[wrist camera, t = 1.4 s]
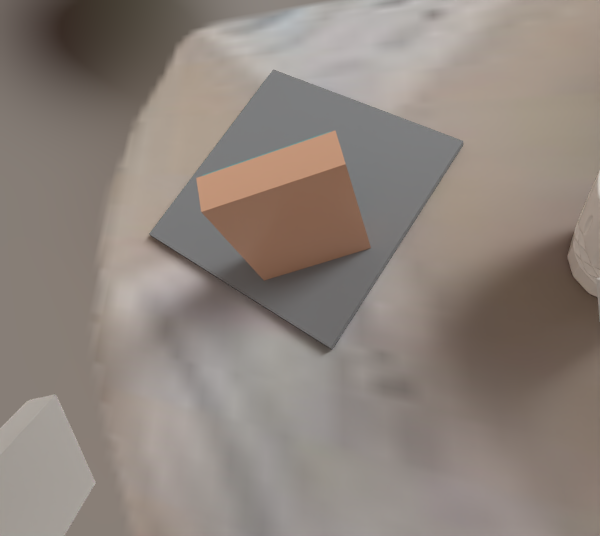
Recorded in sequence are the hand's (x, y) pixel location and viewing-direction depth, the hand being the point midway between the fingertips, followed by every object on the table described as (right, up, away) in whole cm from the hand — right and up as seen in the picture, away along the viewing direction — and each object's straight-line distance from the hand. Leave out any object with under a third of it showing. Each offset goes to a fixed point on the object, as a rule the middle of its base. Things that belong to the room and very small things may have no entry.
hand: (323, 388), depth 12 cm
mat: (-1, +9, +32) cm, 33 cm away
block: (0, +4, +29) cm, 29 cm away
